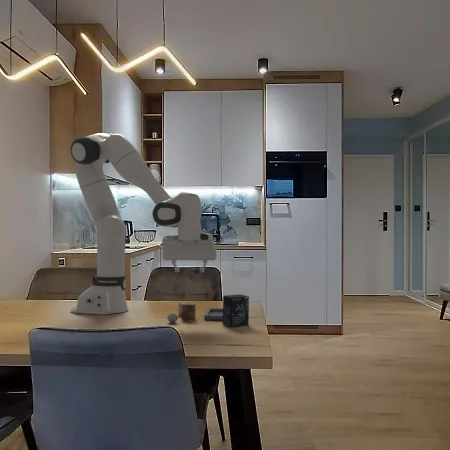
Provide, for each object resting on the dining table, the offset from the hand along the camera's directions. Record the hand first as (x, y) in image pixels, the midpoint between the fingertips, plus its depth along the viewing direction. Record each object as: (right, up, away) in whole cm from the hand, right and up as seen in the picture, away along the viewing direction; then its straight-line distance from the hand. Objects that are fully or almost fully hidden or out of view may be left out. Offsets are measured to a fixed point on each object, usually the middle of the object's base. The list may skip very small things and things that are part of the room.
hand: (189, 272), depth 195 cm
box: (+17, -18, -9) cm, 27 cm away
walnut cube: (0, -18, 0) cm, 18 cm away
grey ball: (-6, -18, -6) cm, 20 cm away
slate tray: (+13, -18, +6) cm, 23 cm away
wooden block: (-3, -18, +8) cm, 20 cm away
